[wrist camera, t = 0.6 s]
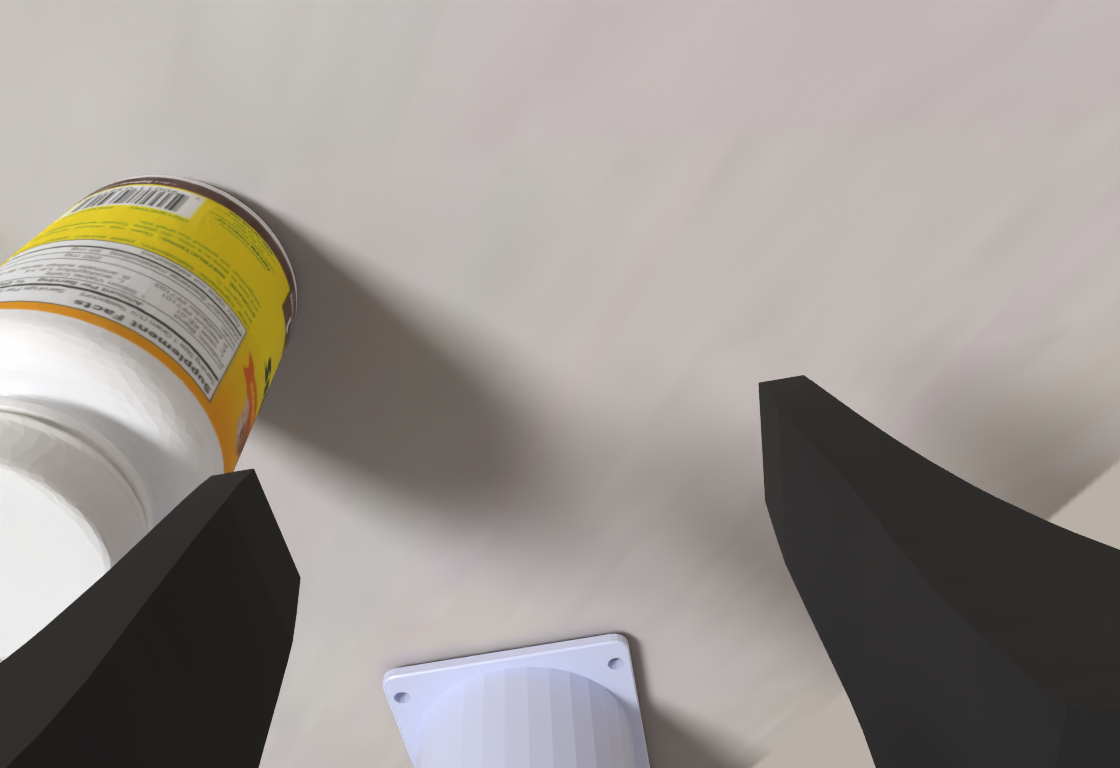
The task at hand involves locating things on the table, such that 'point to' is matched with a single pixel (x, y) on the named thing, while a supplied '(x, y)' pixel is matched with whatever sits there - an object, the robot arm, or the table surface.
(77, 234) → the supplement bottle
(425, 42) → the table surface
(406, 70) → the table surface
